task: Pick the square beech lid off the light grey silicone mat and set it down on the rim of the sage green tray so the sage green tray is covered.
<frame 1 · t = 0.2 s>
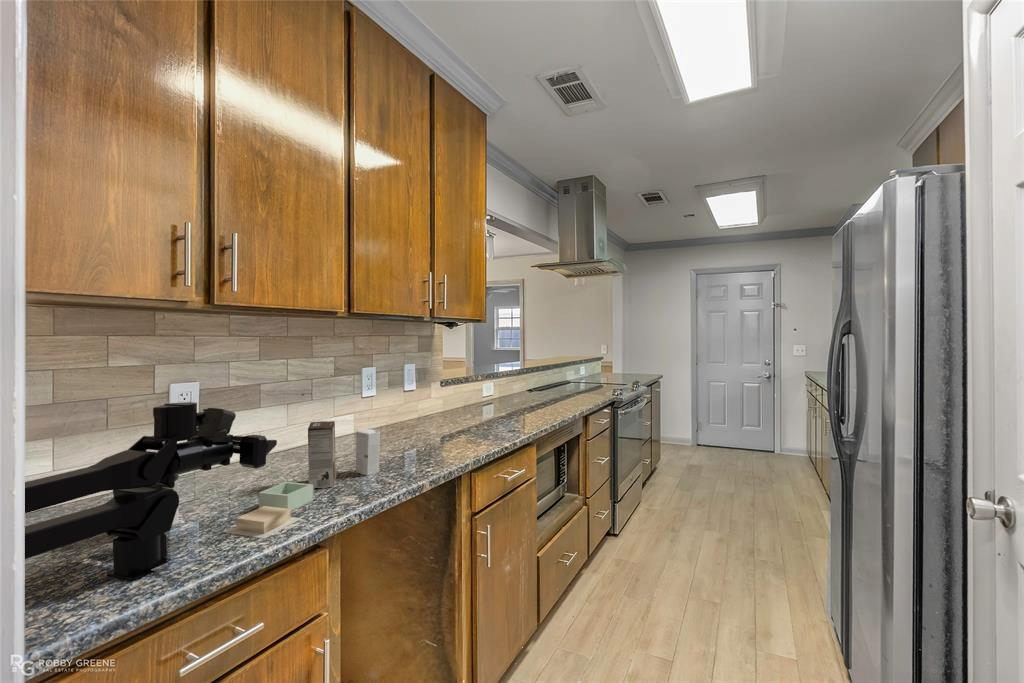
hand: (259, 440, 103), 17 cm above the counter, tool horizontal, fingers open, 9 cm apart
mat: (264, 527, 96), on the counter
sage green tray: (286, 507, 107), on the counter
coffee box: (322, 484, 124), on the counter
lid: (264, 525, 96), point 1 cm above the counter, touching mat
jar: (155, 527, 97), on the counter
skincare box: (368, 473, 134), on the counter
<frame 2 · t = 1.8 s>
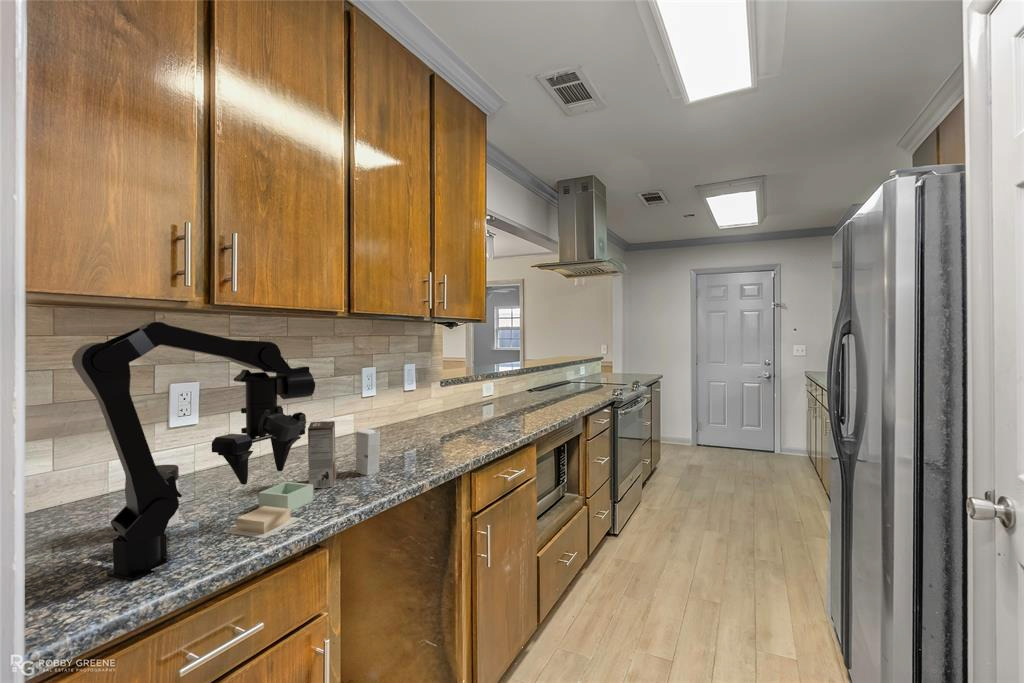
hand: (262, 477, 95), 11 cm above the counter, tool pointing down, fingers open, 9 cm apart
nothing on the counter moved.
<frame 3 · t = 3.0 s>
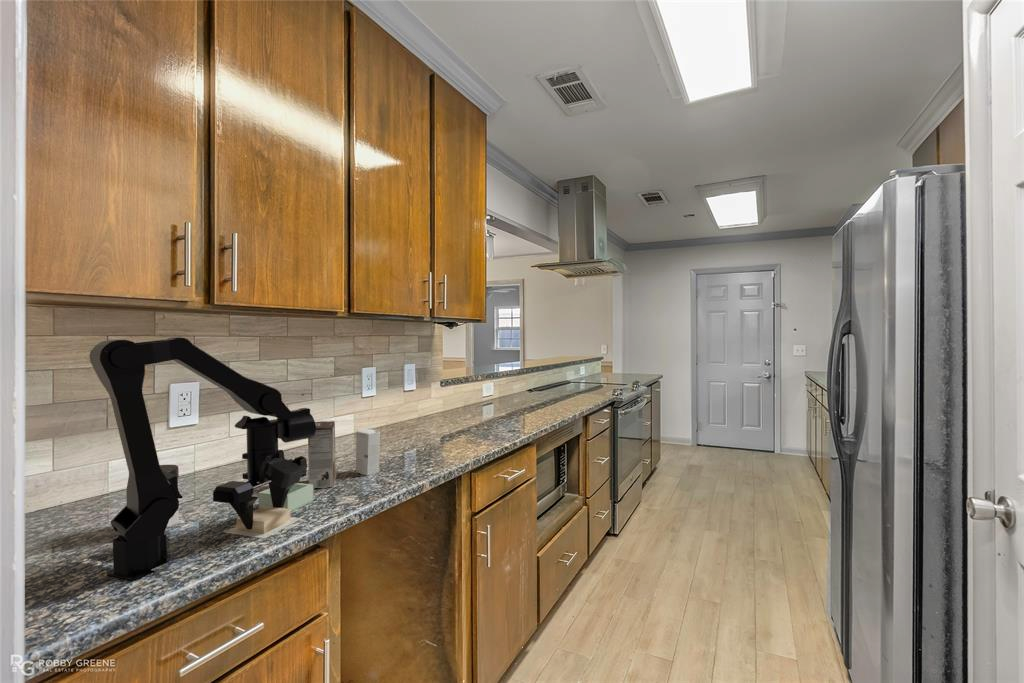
hand: (264, 522, 96), 1 cm above the counter, tool pointing down, fingers closed on lid, 7 cm apart
lid: (264, 525, 96), point 1 cm above the counter, touching gripper, mat
everything else where it was.
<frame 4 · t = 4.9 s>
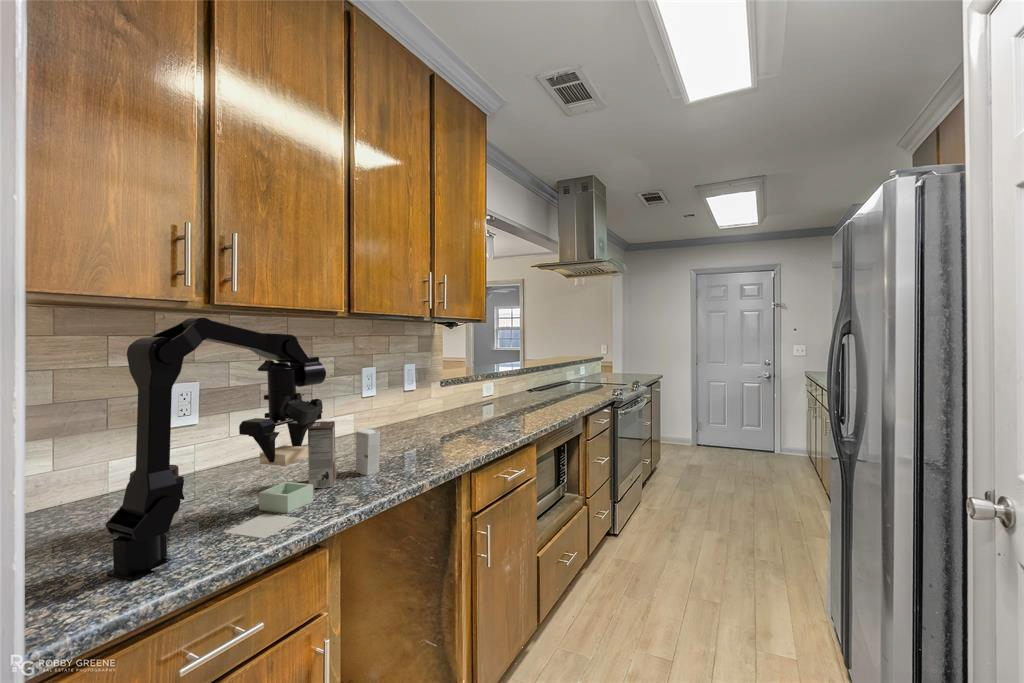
hand: (284, 457, 105), 12 cm above the counter, tool pointing down, fingers closed on lid, 7 cm apart
lid: (284, 460, 105), point 11 cm above the counter, touching gripper
everything else where it was.
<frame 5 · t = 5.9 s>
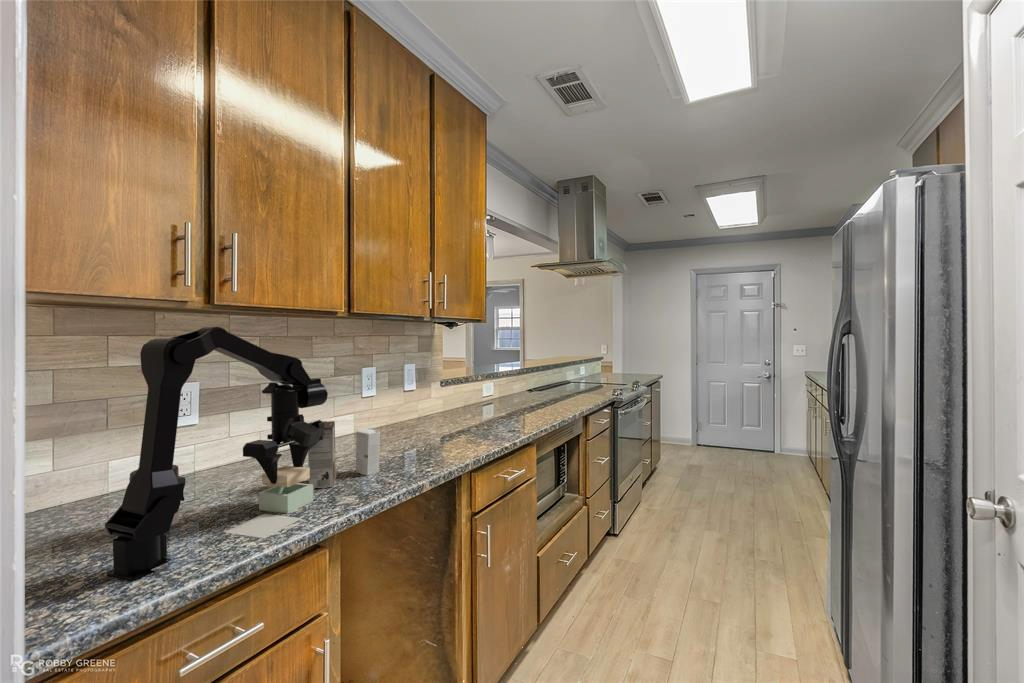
hand: (286, 478, 107), 7 cm above the counter, tool pointing down, fingers closed on lid, 7 cm apart
lid: (286, 481, 107), point 6 cm above the counter, touching gripper
everything else where it was.
when the fingers open (6 cm above the counter, at t = 6.6 s): lid drops 1 cm, resting on sage green tray.
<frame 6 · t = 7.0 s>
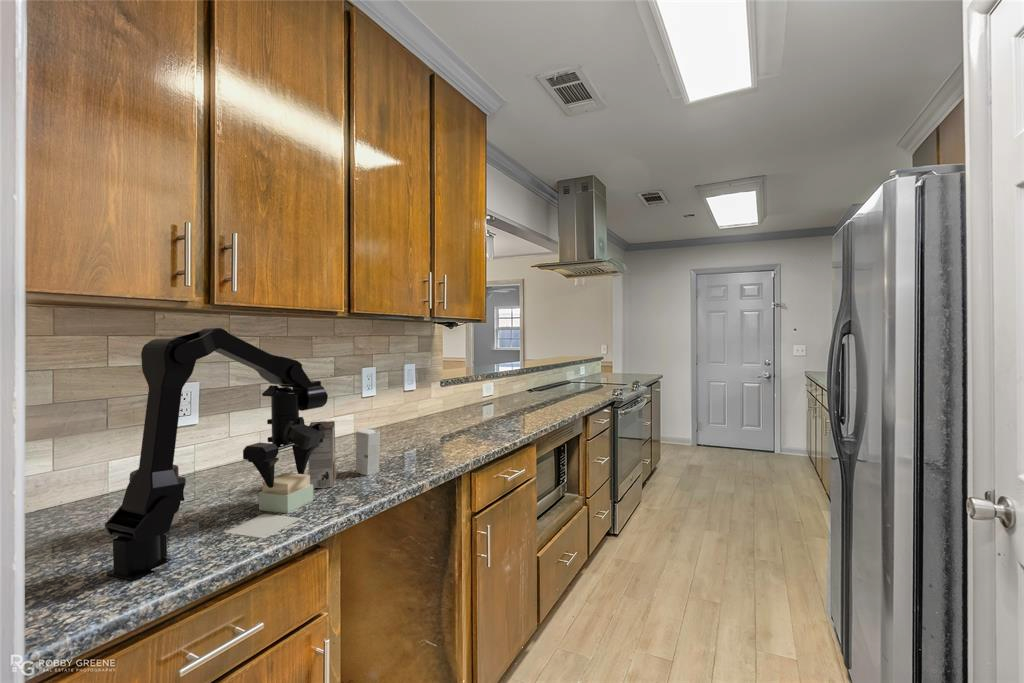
hand: (286, 481, 107), 6 cm above the counter, tool pointing down, fingers open, 9 cm apart
sage green tray: (286, 507, 107), on the counter, touching lid
lid: (286, 488, 107), point 4 cm above the counter, touching sage green tray
everything else where it was.
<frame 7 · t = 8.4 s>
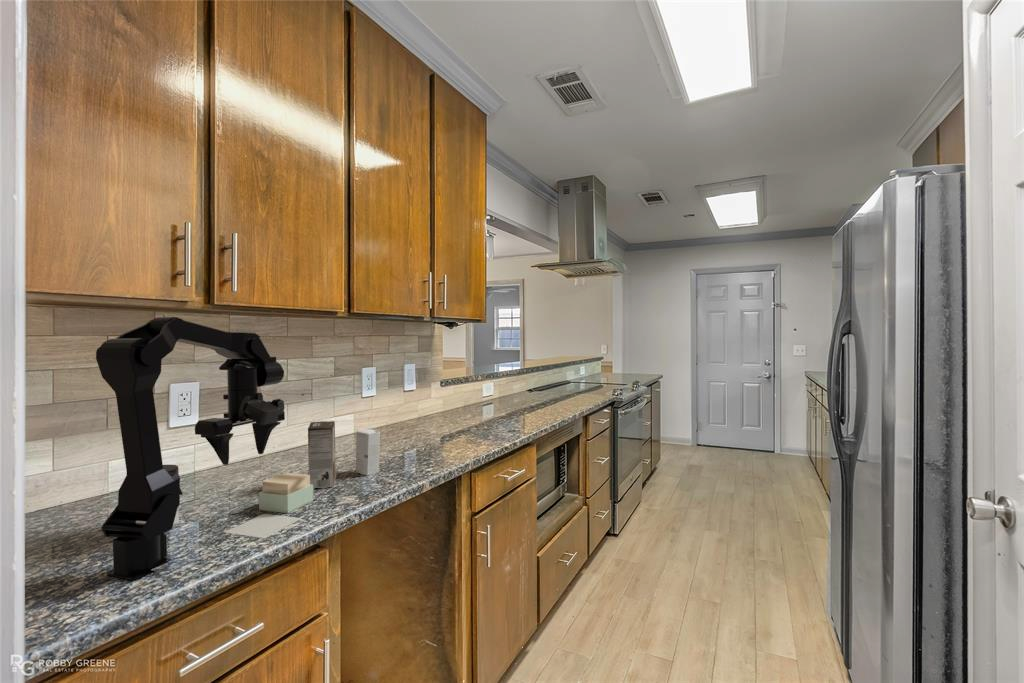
hand: (243, 459, 103), 12 cm above the counter, tool pointing down, fingers open, 9 cm apart
nothing on the counter moved.
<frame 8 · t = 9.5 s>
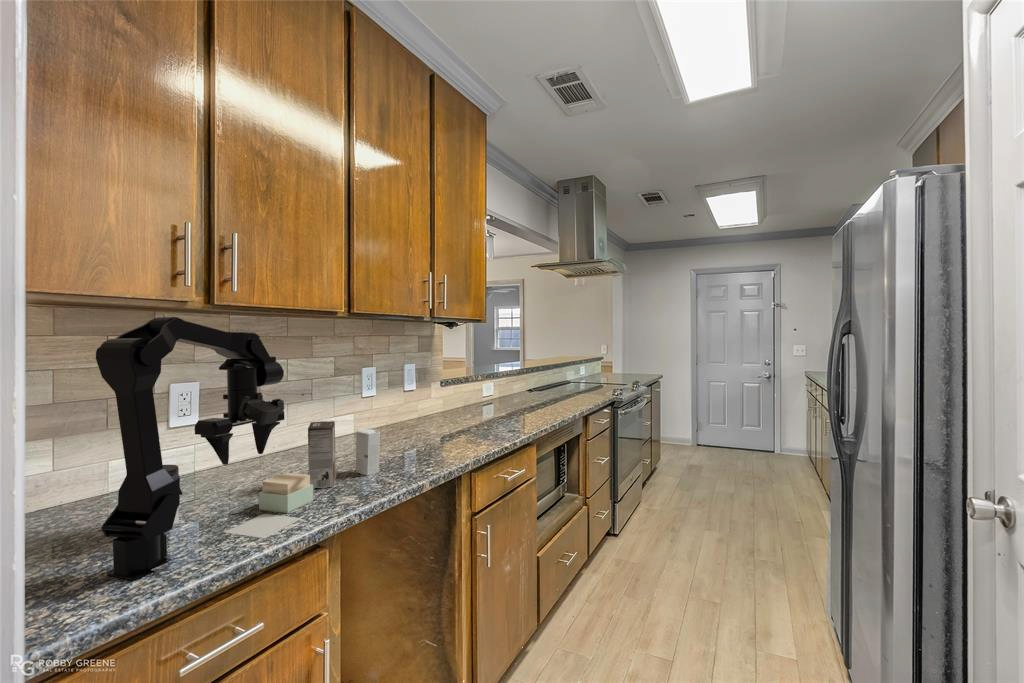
hand: (243, 459, 103), 13 cm above the counter, tool pointing down, fingers open, 9 cm apart
nothing on the counter moved.
at the end: lid 0.1 cm off-centre on the sage green tray, point 4.5 cm above the sage green tray's base; lid tilted 0°; the gripper is holding nothing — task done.
